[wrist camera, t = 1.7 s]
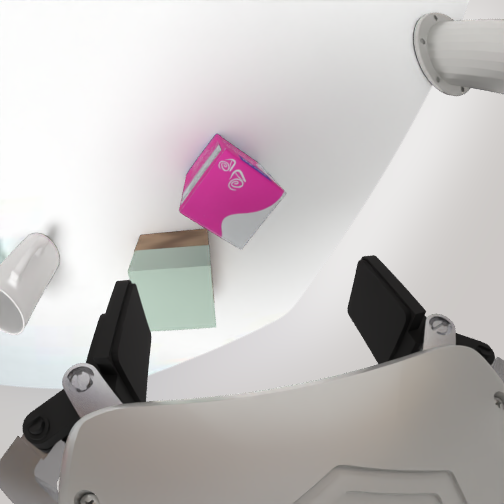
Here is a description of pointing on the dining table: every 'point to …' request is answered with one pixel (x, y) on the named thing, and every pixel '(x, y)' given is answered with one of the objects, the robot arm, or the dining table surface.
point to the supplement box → (229, 192)
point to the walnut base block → (173, 240)
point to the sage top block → (175, 287)
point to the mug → (25, 280)
